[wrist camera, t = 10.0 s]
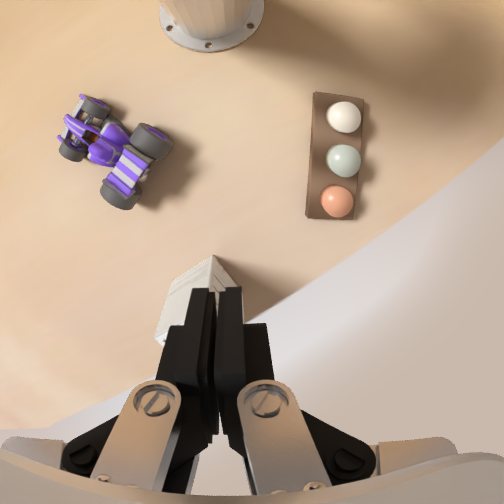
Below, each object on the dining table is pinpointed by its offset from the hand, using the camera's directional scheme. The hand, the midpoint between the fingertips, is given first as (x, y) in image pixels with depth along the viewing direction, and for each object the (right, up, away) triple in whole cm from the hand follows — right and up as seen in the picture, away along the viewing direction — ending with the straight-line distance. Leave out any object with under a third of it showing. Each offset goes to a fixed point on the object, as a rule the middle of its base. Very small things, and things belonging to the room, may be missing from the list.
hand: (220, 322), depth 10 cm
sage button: (+11, +13, +22) cm, 28 cm away
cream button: (+11, +18, +21) cm, 30 cm away
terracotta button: (+11, +9, +25) cm, 29 cm away
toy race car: (-17, +16, +23) cm, 32 cm away
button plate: (+11, +14, +24) cm, 30 cm away
